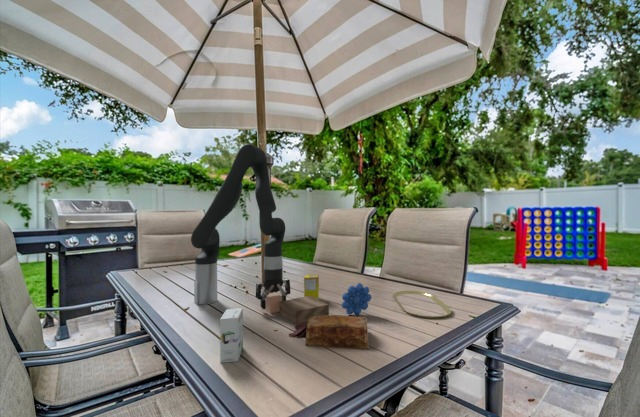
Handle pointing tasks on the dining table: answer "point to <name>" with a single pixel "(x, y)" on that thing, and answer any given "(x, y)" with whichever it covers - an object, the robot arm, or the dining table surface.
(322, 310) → the walnut block
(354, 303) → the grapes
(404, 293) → the yellow oval ring
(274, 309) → the terracotta block
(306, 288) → the supplement box
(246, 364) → the dining table surface
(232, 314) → the ink box
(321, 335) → the cured meat
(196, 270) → the robot arm
